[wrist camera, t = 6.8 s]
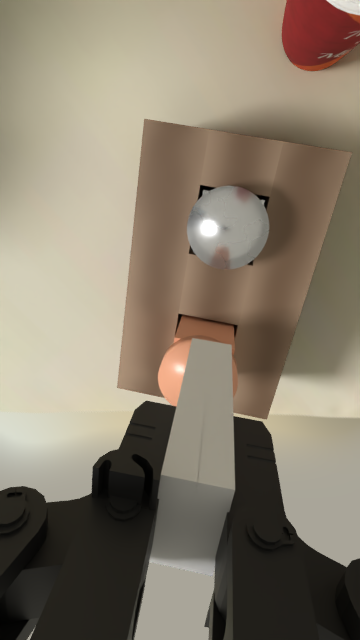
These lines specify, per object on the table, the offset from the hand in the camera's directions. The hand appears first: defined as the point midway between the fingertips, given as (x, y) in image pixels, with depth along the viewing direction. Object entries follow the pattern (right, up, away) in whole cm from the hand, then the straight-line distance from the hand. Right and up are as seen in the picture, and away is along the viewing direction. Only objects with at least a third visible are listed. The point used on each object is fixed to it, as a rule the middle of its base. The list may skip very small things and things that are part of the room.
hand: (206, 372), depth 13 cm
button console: (+3, +7, +21) cm, 22 cm away
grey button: (+3, +11, +17) cm, 21 cm away
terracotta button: (+1, +1, +17) cm, 17 cm away
